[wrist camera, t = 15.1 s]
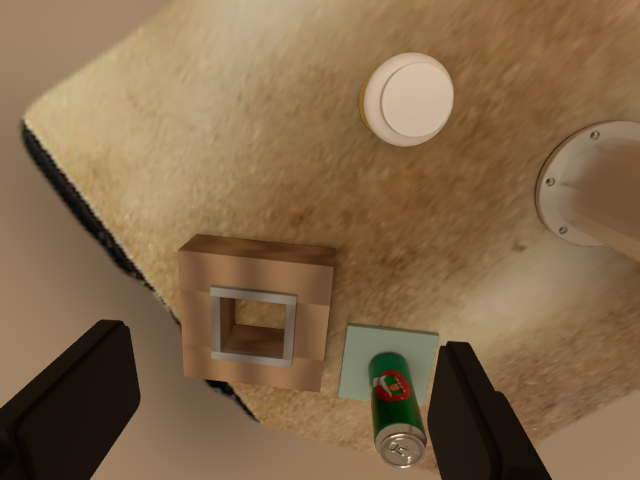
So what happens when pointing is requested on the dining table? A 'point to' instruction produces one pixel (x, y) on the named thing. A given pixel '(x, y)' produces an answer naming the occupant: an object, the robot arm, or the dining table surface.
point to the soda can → (395, 412)
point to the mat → (377, 341)
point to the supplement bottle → (407, 99)
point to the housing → (258, 285)
